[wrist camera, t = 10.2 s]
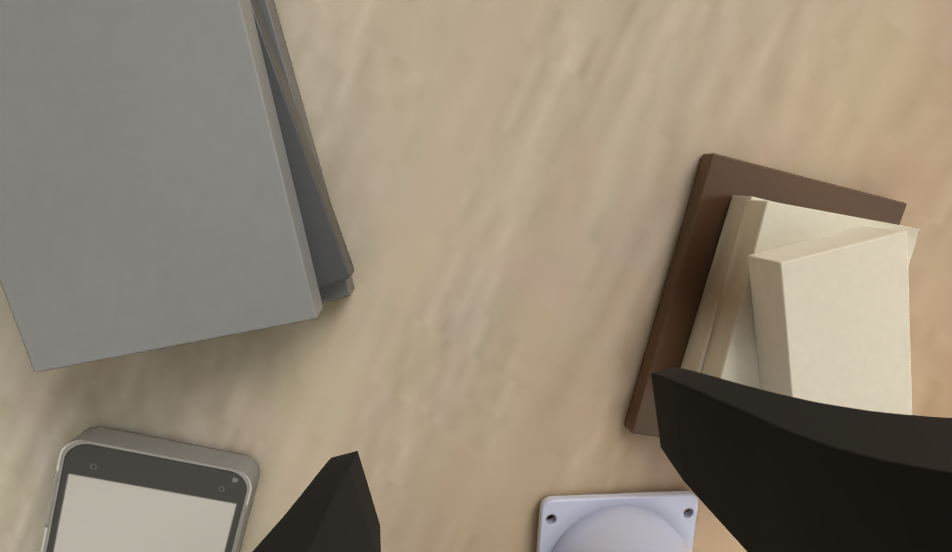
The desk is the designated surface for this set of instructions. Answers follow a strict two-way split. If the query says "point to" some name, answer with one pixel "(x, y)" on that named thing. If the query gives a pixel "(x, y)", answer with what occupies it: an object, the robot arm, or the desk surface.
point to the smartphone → (147, 496)
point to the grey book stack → (156, 178)
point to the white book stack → (739, 266)
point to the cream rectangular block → (836, 319)
